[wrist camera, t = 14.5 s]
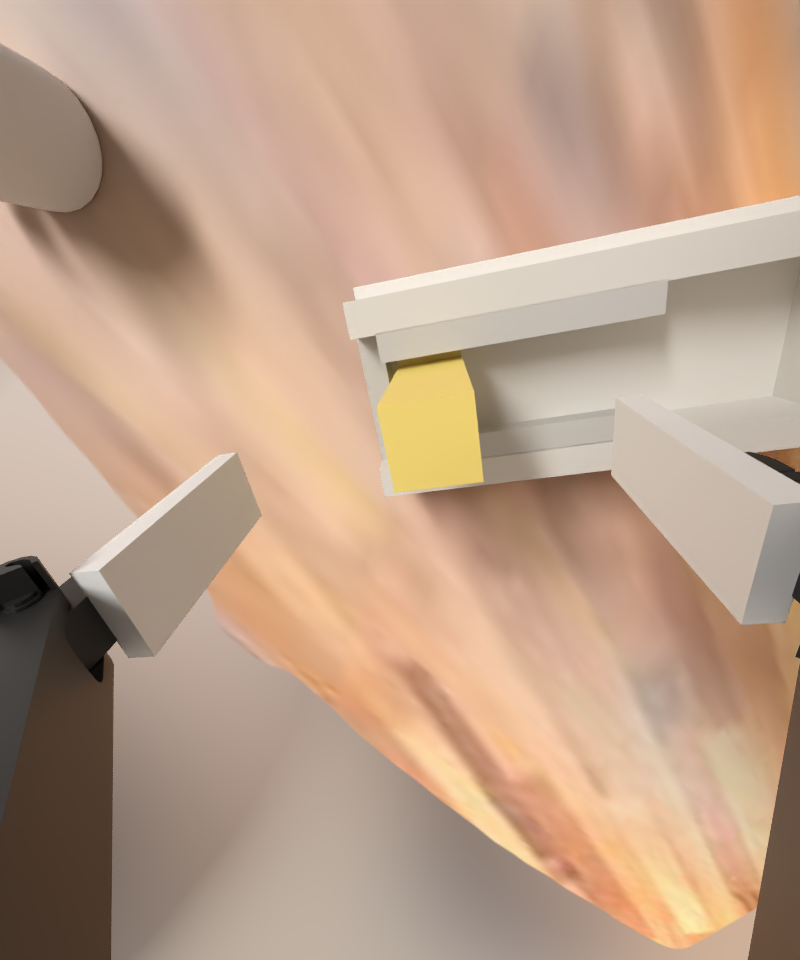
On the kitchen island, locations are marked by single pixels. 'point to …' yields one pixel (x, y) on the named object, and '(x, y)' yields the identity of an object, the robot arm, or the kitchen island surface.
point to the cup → (44, 140)
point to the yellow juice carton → (431, 424)
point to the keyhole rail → (606, 338)
